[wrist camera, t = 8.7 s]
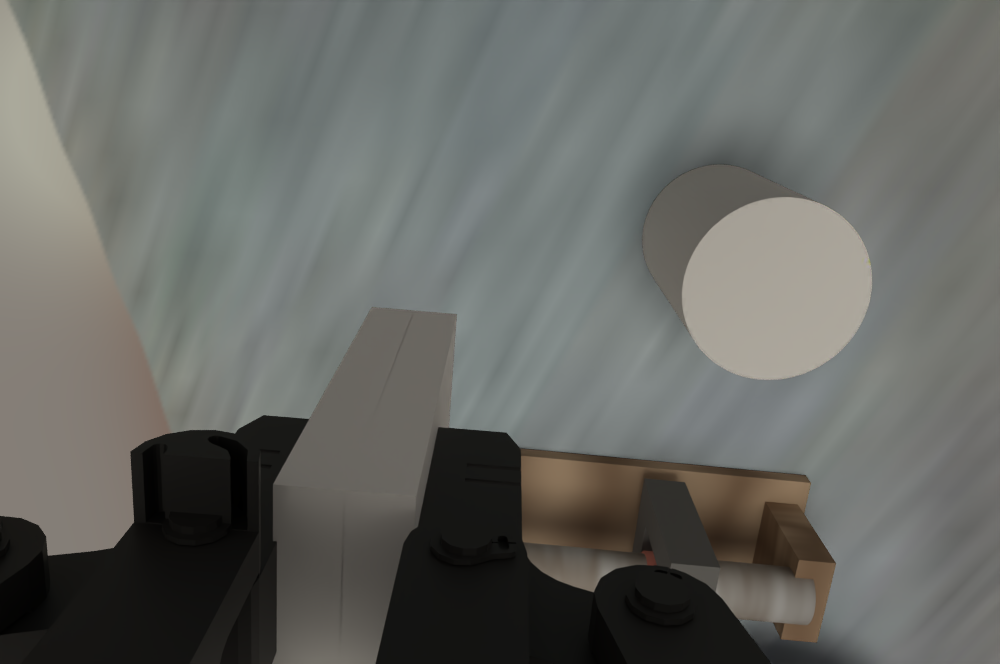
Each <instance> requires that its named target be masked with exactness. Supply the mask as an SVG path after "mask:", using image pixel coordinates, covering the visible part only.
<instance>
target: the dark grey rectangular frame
mask: <svg viewBox="0 0 1000 664" xmlns="http://www.w3.org/2000/svg"><path fill="white" fill-rule="evenodd" d="M642 551H653V554H654V557H655V560H656V564H657V565H658V566H664V567H669V568H670V569H672V568H673V569H676V570H679V571H682V572H684V573H687V574H689V575H690V576H692V577H694V578H696V579H698V580H700V581H702V582H704V583H706V584H707V585H708V586H709V587H710V588H711V589H713V590H714V591H715V592H716V588H717V583H718V578H719V573H720V565H719V563H718V561H717V558H716V556H715V553H714V551H713V548H712V546H711V544H710V541H709V539H708V536H707V534H706V532H705V529H704V527H703V524H702V522H701V520H700V517H699V515H698V512H697V510H696V507H695V505H694V503H693V500H692V498H691V495H690V493H689V491H688V488H687V486H686V483H685V482H678V481H667V480H656V479H646V478H644V482H643V489H642V495H641V501H640V507H639V513H638V519H637V526H636V532H635V538H634V544H633V550H632V552H634V553H641V552H642Z"/></svg>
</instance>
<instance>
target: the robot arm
mask: <svg viewBox="0 0 1000 664" xmlns="http://www.w3.org/2000/svg"><path fill="white" fill-rule="evenodd" d="M456 318H457V314H448V313H436V312H424V311H412V310H400V309H388V308H376V307H372V308H371V310H370V311H369V313H368V315H367V317H366V318H365V320H364V322H363V324H362V326H361V327H360V329H359V331H358V333H357V335H356V336H355V338H354V340H353V342H352V344H351V345H350V347H349V349H348V351H347V353H346V354H345V356H344V358H343V360H342V362H341V363H340V365H339V367H338V369H337V370H336V372H335V374H334V376H333V378H332V379H331V381H330V383H329V385H328V387H327V388H326V390H325V392H324V394H323V396H322V397H321V399H320V401H319V403H318V405H317V406H316V408H315V410H314V412H313V414H312V415H311V417H310V419H302V418H290V417H278V416H266V415H263V416H262V417H260V418H258V419H256V420H254V421H252V422H251V423H249V424H247V425H245V426H243V427H241V428H239V429H238V430H237V432H236V433H235V434H234V433H229V432H223V431H217V430H189V431H183V432H177V433H170V434H165V435H163V436H160V437H157V438H154V439H151V440H148V441H145V442H144V443H142V444H141V445H139V446H138V447H137V448H135V449H134V450H132V451H131V470H132V489H133V508H134V523H133V524H132V526H131V527H130V528H129V530H128V531H127V532H126V533H125V534H124V536H123V537H122V538H121V539H120V541H119V542H118V543H117V544H116V546H115V547H114V548H111V549H105V550H98V551H91V552H81V553H72V554H62V555H52V556H48V555H47V543H46V536H45V534H44V533H43V531H42V530H41V529H40V527H39V526H38V525H36V524H34V523H31V522H29V521H27V520H24V519H22V518H14V517H4V516H0V664H272V662H273V664H771V663H770V661H769V660H768V659H767V657H766V656H765V655H764V653H763V652H762V651H761V649H760V648H759V647H758V645H757V644H756V643H755V641H754V640H753V639H752V637H751V636H750V635H749V633H748V632H747V631H746V629H745V628H744V627H743V625H742V624H741V623H740V621H739V620H738V619H737V618H736V616H735V615H734V614H733V612H732V611H731V610H730V608H729V607H728V606H727V604H726V603H725V602H724V600H723V599H722V598H721V597H720V596H719V595H718V594H717V593H716V592H715V591H714V590H713V589H711V588H710V587H709V586H708V585H707V584H706V583H704V582H702V581H700V580H698V579H696V578H694V577H692V576H690V575H689V574H687V573H684V572H682V571H679V570H676V569H673V568H672V569H670V568H669V567H664V566H658V565H654V566H652V565H632V566H627V567H622V568H616V569H614V570H613V571H611V572H609V573H608V574H606V575H604V576H603V577H601V578H600V580H599V582H598V584H597V586H596V588H595V590H594V592H591V591H588V590H584V589H581V588H577V587H574V586H571V585H569V584H566V583H563V582H560V581H558V580H556V579H554V578H552V577H550V576H549V575H547V574H545V573H543V572H542V571H541V570H540V569H538V568H537V567H536V566H535V565H534V564H533V563H531V561H530V560H529V558H528V557H527V551H526V548H525V545H524V543H523V540H522V490H521V449H520V448H519V447H518V446H517V444H516V443H515V442H514V441H513V440H512V439H511V437H510V436H509V435H508V434H507V433H503V432H491V431H479V430H467V429H455V428H449V418H450V404H451V390H452V375H453V361H454V347H455V332H456Z"/></svg>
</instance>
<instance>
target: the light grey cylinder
mask: <svg viewBox="0 0 1000 664" xmlns="http://www.w3.org/2000/svg"><path fill="white" fill-rule="evenodd" d="M642 246H643V254H644V258H645V261H646V264H647V267H648V269H649V271H650V273H651V275H652V276H653V278H654V280H655V281H656V283H657V284H658V286H659V287H660V289H661V290H662V292H663V293H664V295H665V296H666V298H667V299H668V301H669V303H670V304H671V306H672V307H673V309H674V310H675V312H676V313H677V315H678V316H679V318H680V319H681V321H682V322H683V324H684V326H685V327H686V329H687V330H688V332H689V333H690V335H691V336H692V338H693V339H694V341H695V342H696V344H697V345H698V347H699V348H700V349H701V350H702V351H703V353H704V354H705V355H706V356H707V357H709V358H710V359H711V360H712V361H713V362H715V363H716V364H717V365H719V366H720V367H722V368H724V369H726V370H728V371H730V372H732V373H734V374H737V375H740V376H743V377H747V378H752V379H760V380H777V379H785V378H790V377H794V376H798V375H801V374H804V373H806V372H809V371H811V370H813V369H815V368H817V367H819V366H821V365H822V364H824V363H825V362H827V361H828V360H830V359H831V358H832V357H834V356H835V355H836V354H837V353H838V352H840V351H841V350H842V349H843V348H844V347H845V346H846V345H847V343H848V342H849V341H850V340H851V339H852V337H853V336H854V334H855V333H856V331H857V330H858V328H859V326H860V325H861V323H862V321H863V319H864V316H865V314H866V311H867V308H868V305H869V301H870V296H871V289H872V271H871V264H870V260H869V256H868V253H867V250H866V248H865V246H864V243H863V241H862V240H861V238H860V236H859V235H858V233H857V232H856V230H855V229H854V228H853V227H852V226H851V225H850V223H849V222H848V221H847V220H845V219H844V218H843V217H842V216H841V215H839V214H838V213H837V212H835V211H834V210H832V209H830V208H828V207H826V206H824V205H822V204H820V203H818V202H816V201H814V200H811V199H809V198H807V197H805V196H803V195H801V194H798V193H796V192H794V191H792V190H790V189H788V188H785V187H783V186H781V185H779V184H777V183H775V182H773V181H770V180H768V179H766V178H764V177H762V176H760V175H757V174H755V173H753V172H751V171H749V170H746V169H744V168H741V167H737V166H732V165H721V164H719V165H708V166H703V167H699V168H696V169H693V170H690V171H688V172H686V173H684V174H682V175H681V176H679V177H677V178H676V179H675V180H673V181H672V182H671V183H669V184H668V185H667V186H666V187H665V188H664V189H663V190H662V191H661V192H660V194H659V195H658V196H657V198H656V199H655V200H654V202H653V204H652V206H651V207H650V209H649V212H648V214H647V217H646V220H645V223H644V228H643V236H642Z"/></svg>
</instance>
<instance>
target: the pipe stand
mask: <svg viewBox="0 0 1000 664" xmlns="http://www.w3.org/2000/svg"><path fill="white" fill-rule="evenodd" d="M644 478H646V479H656V480H667V481H678V482H685V483H686V486H687V488H688V491H689V493H690V495H691V498H692V500H693V503H694V505H695V507H696V510H697V512H698V515H699V517H700V520H701V522H702V524H703V527H704V529H705V532H706V534H707V536H708V539H709V541H710V544H711V546H712V548H713V551H714V553H715V556H716V558H717V561H718V563H719V565H720V573H719V578H718V583H717V588H716V593H717V594H718V595H719V596H720V597H721V598H722V599H723V600H724V602H725V603H726V604H727V606H728V607H729V608H730V610H731V611H732V612H733V614H734V615H735V616H736V618H737V619H742V620H753V621H764V622H773V623H774V625H775V628H776V630H777V632H778V634H779V636H780V638H781V639H783V640H794V641H805V642H816V643H817V640H818V636H819V632H820V628H821V623H822V619H823V615H824V611H825V607H826V603H827V599H828V595H829V590H830V586H831V582H832V578H833V574H834V570H835V566H836V563H835V561H834V560H833V558H832V557H831V555H830V553H829V552H828V550H827V549H826V547H825V546H824V544H823V543H822V541H821V540H820V538H819V536H818V535H817V533H816V532H815V530H814V529H813V527H812V526H811V524H810V523H809V521H808V519H807V518H806V516H805V515H804V512H805V507H806V503H807V498H808V494H809V490H810V485H811V482H810V481H809V479H808V478H807V477H806V475H796V474H785V473H775V472H764V471H753V470H743V469H732V468H722V467H711V466H700V465H690V464H679V463H669V462H658V461H647V460H637V459H626V458H616V457H605V456H594V455H584V454H573V453H563V452H552V451H541V450H531V449H521V490H522V540H523V543H524V545H525V548H526V551H527V557H528V558H529V560H530V561H531V563H533V564H534V565H535V566H536V567H537V568H538V569H540V570H541V571H542V572H543V573H545V574H547V575H549V576H550V577H552V578H554V579H556V580H558V581H560V582H563V583H566V584H569V585H571V586H574V587H577V588H581V589H584V590H588V591H591V592H594V590H595V588H596V586H597V584H598V582H599V580H600V578H601V577H603V576H604V575H606V574H608V573H609V572H611V571H613V570H614V569H616V568H622V567H627V566H632V565H652V566H654V565H657V564H656V560H655V557H654V554H653V551H642V552H641V553H634V552H632V550H633V544H634V538H635V532H636V526H637V519H638V513H639V507H640V501H641V495H642V489H643V482H644Z"/></svg>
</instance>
